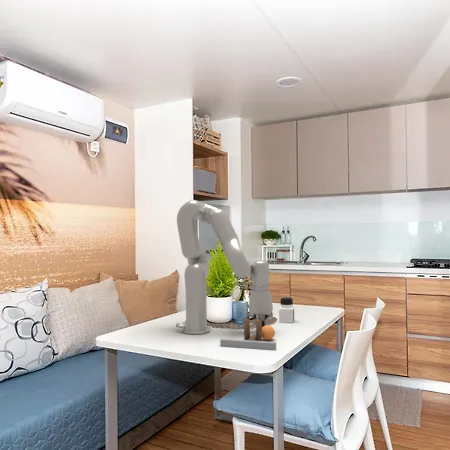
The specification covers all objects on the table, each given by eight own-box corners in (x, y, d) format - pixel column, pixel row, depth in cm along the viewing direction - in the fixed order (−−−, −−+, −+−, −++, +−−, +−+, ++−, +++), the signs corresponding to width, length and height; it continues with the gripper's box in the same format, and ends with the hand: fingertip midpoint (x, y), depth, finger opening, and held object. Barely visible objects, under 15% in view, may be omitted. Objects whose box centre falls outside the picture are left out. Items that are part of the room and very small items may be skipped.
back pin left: (244, 342, 171) (244, 320, 171) (243, 340, 173) (243, 318, 173) (250, 341, 171) (250, 319, 171) (249, 340, 174) (249, 318, 174)
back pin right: (256, 342, 169) (256, 320, 170) (255, 341, 172) (255, 319, 172) (262, 342, 170) (262, 320, 170) (261, 341, 172) (261, 319, 172)
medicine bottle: (293, 323, 205) (293, 298, 206) (279, 322, 207) (278, 298, 207) (294, 320, 212) (293, 296, 213) (280, 319, 214) (279, 296, 214)
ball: (273, 329, 170) (270, 320, 175) (259, 334, 170) (257, 325, 176) (277, 340, 172) (275, 331, 178) (264, 345, 173) (262, 335, 178)
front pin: (253, 341, 174) (247, 346, 166) (250, 335, 175) (245, 341, 166) (258, 338, 174) (253, 344, 165) (255, 333, 174) (250, 338, 165)
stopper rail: (220, 346, 165) (220, 339, 165) (221, 344, 167) (221, 338, 167) (275, 350, 159) (275, 343, 159) (276, 348, 161) (276, 342, 161)
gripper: (242, 288, 186) (243, 330, 186) (275, 289, 182) (276, 332, 181) (246, 286, 193) (247, 326, 193) (278, 287, 189) (279, 328, 188)
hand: (261, 329), depth 187 cm, fingers closed
